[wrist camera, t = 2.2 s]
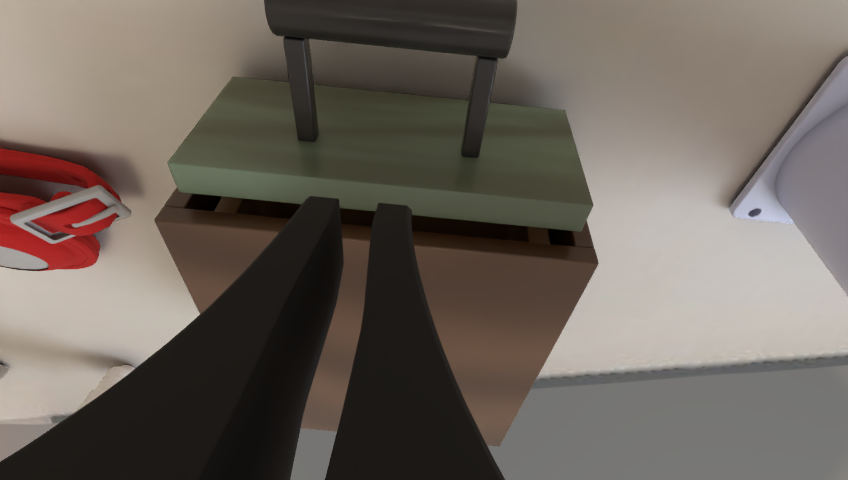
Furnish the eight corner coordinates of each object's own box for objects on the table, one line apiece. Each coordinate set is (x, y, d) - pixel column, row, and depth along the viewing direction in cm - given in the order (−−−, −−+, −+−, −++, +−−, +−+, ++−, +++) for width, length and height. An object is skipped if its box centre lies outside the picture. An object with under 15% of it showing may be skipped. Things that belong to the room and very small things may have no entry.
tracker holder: (88, 296, 29) (-144, 253, 23) (110, 234, 31) (-100, 179, 25) (126, 240, 21) (-226, 149, 15) (153, 158, 22) (-149, 49, 17)
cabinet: (234, 102, 20) (153, 219, 14) (564, 136, 20) (599, 263, 15) (287, 317, 31) (253, 424, 26) (494, 337, 32) (499, 446, 26)
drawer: (196, -76, 14) (92, -18, 10) (612, -32, 14) (669, 42, 10) (287, 305, 29) (259, 389, 25) (493, 325, 29) (497, 412, 25)
